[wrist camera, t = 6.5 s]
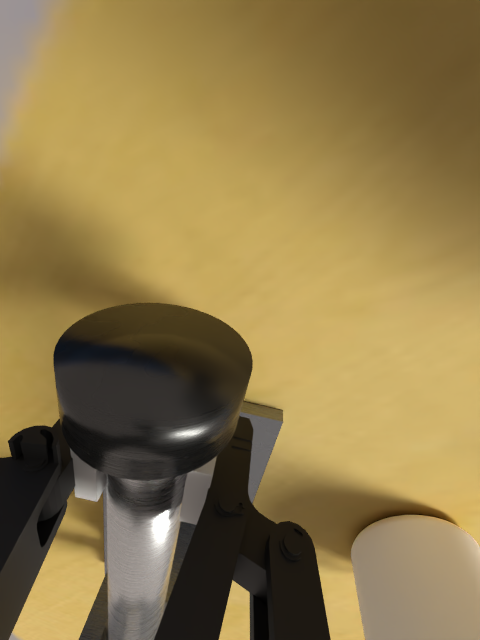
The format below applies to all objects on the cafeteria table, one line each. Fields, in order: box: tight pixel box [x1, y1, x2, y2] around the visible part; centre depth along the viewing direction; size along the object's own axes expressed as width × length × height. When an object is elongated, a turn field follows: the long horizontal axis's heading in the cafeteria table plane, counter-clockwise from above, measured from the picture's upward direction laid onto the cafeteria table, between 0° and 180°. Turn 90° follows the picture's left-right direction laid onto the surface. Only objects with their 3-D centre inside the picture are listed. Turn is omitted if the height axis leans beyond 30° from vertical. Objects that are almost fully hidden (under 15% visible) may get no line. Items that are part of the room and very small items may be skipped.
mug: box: [351, 515, 480, 640], centre depth 22 cm, size 12×10×9 cm
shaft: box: [54, 303, 252, 640], centre depth 14 cm, size 23×5×5 cm, turn 168°
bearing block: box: [79, 401, 283, 640], centre depth 21 cm, size 27×12×14 cm, turn 168°
